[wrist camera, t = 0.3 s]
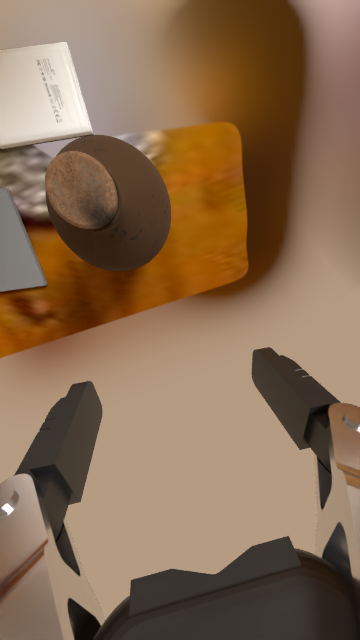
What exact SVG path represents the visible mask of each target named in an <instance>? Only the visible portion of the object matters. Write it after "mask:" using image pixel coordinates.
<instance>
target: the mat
mask: <svg viewBox="0 0 360 640" xmlns="http://www.w3.org/2000/svg"><path fill="white" fill-rule="evenodd" d="M45 285H47V281H46V279H45V276H44V274H43V271H42V269H41V267H40V264H39V262H38V259H37V257H36V254H35V252H34V249H33V247H32V244H31V242H30V239H29V237H28V235H27V232H26V230H25V227H24V225H23V222H22V220H21V217H20V215H19V212H18V210H17V208H16V205H15V203H14V200H13V198H12V195H11V193H10V190H9V189H6V188H3V189H0V292H2V291H9V290H16V289H23V288H30V287H37V286H45Z"/></svg>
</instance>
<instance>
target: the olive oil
mask: <svg viewBox="0 0 360 640" xmlns="http://www.w3.org/2000/svg"><path fill="white" fill-rule="evenodd" d="M45 187H46V202H47V207H48V211H49V215H50V218H51V220H52V223H53V225H54V227H55V229H56V231H57V233H58V234H59V236H60V237H61V239H62V240H63V241H64V242H65V244H66V245H67V246H68V247H69V248H70V249H71V250H72V251H73V252H74V253H75V254H77V255H78V256H79V257H80V258H82V259H83V260H85V261H86V262H88V263H90V264H92V265H94V266H97V267H99V268H102V269H106V270H111V271H127V270H132V269H135V268H138V267H141V266H143V265H144V264H146V263H149V262H150V261H151V260H152V259H153V258H154V257H155V256H156V255H157V254H158V252H159V251H160V250H161V248H162V247H163V245H164V243H165V241H166V239H167V236H168V233H169V229H170V223H171V206H170V200H169V195H168V192H167V189H166V186H165V184H164V181H163V179H162V177H161V176H160V174H159V172H158V171H157V169H156V168H155V166H154V165H153V164H152V163H151V161H150V160H149V159H148V158H147V157H146V156H145V155H144V154H143V153H142V152H140V151H139V150H138V149H136V148H135V147H133V146H132V145H130V144H128V143H127V142H125V141H122V140H120V139H117V138H114V137H110V136H104V135H90V136H85V137H81V138H79V139H76V140H74V141H72V142H70V143H69V144H68V145H66V146H65V147H64V148H63V149H62V150H61V151H60V152H59V153H58V154H57V156H56V157H55V158H54V159H53V160H52V161H51V162H50V164H49V166H48V168H47V171H46V176H45Z"/></svg>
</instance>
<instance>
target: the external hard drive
mask: <svg viewBox="0 0 360 640" xmlns="http://www.w3.org/2000/svg"><path fill="white" fill-rule="evenodd" d="M90 135H94V134H93V130H92V127H91V124H90V120H89V116H88V113H87V109H86V105H85V102H84V98H83V95H82V91H81V88H80V84H79V81H78V77H77V74H76V70H75V67H74V63H73V59H72V56H71V53H70V50H69V47H68V45H67V42H60V43H53V44H44V45H36V46H35V45H34V46H27V47H19V48H12V49H3V50H0V148H1V149H5V148H12V147H18V146H24V145H30V144H33V145H35V144H41V143H47V142H53V141H60V140H66V139H72V138H78V137H85V136H90Z"/></svg>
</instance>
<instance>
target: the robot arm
mask: <svg viewBox="0 0 360 640" xmlns="http://www.w3.org/2000/svg"><path fill="white" fill-rule="evenodd" d="M252 379H253V382H254V384H255V386H256V388H257V389H258V390H259V392H260V393H261V395H262V396H263V397H264V399H265V400H266V402H267V403H268V405H269V406H270V407H271V409H272V411H273V412H274V413H275V415H276V416H277V418H278V419H279V421H280V422H281V423H282V425H283V426H284V428H285V429H286V431H287V432H288V433H289V435H290V436H291V438H292V439H293V441H294V442H295V444H296V445H297V446H298V448H299V449H300V450H302V449H305V448H311V449H312V450H313V452H314V453H315V456H314V465H315V482H316V497H317V498H316V499H317V525H316V536H315V546H316V555H314V554H312V553H310V552H307V551H303V550H300V549H295V548H294V547H293V545H292V543H291V541H290V538H289V536H287V537H283V538H280V539H276V540H272V541H269V542H265V543H262V544H258V545H255V546H252V547H250V548H249V549H248V550H247V551H245V552H244V553H243V554H242V555H240V556H239V557H238V558H237V559H235V560H234V561H233V562H232V563H230V564H229V565H228V566H227V567H225V568H224V569H223V570H222V571H220V572H219V573H217V574H205V573H197V572H191V571H183V570H176V569H169V570H166V571H162V572H159V573H155V574H151V575H148V576H144V577H141V578H137V579H134V580H131V589H130V596H128V597H127V598H126V599H124V601H122V602H121V603H120V604H119V605H118V606H117V607H116V608H115V609H114V611H113V612H112V613H111V614H110V615H109V617H108V618H107V619H106V620H105V618H104V615H103V612H102V610H101V607H100V605H99V602H98V600H97V598H96V595H95V594H94V592H93V590H92V588H91V586H90V584H89V582H88V580H87V578H86V576H85V573H84V570H83V567H82V564H81V562H80V559H79V556H78V553H77V550H76V547H75V544H74V541H73V538H72V535H71V533H70V530H69V527H68V524H67V521H66V519H65V515H66V511H67V508H68V505H70V504H74V503H78V502H81V498H82V494H83V490H84V486H85V482H86V478H87V474H88V470H89V466H90V462H91V458H92V454H93V450H94V446H95V442H96V438H97V434H98V430H99V426H100V423H101V419H102V405H101V402H100V400H99V397H98V395H97V392H96V390H95V388H94V385H93V383H92V382H91V381H87V382H83V383H77V384H73V385H72V386H71V388H70V390H69V391H68V394H67V396H66V397H65V398H61V399H60V400H59V401H58V402H57V403H56V404H55V405H54V406H53V407H52V408H51V410H50V412H49V413H48V415H47V417H46V419H45V422H44V423H43V424H42V427H41V428H40V432H38V434H37V435H36V437H35V439H34V441H33V442H32V444H31V446H30V448H29V450H28V452H27V453H26V455H25V457H24V459H23V461H22V462H21V464H20V466H19V468H18V470H17V471H16V473H15V475H14V476H13V477H11V478H9V479H7V480H5V481H4V482H2V483H1V484H0V640H360V407H358V406H356V405H353V404H348V403H341V402H340V401H338V400H337V399H336V398H335V397H334V396H333V395H332V394H330V393H329V392H328V391H327V390H326V389H325V388H324V387H323V386H321V385H320V384H319V383H318V382H317V381H316V380H315V379H314V378H313V377H311V376H309V374H308V373H307V372H306V371H305V370H302V368H301V367H300V366H299V365H298V364H297V363H295V362H294V361H293V360H291V359H289V358H287V357H285V356H282V355H281V356H279V355H278V354H277V353H276V352H275V351H274V350H273V349H272V348H270V347H267V348H262V349H257V350H254V351H253V359H252Z"/></svg>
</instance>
